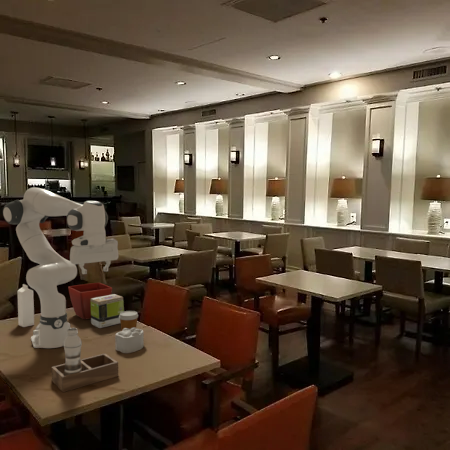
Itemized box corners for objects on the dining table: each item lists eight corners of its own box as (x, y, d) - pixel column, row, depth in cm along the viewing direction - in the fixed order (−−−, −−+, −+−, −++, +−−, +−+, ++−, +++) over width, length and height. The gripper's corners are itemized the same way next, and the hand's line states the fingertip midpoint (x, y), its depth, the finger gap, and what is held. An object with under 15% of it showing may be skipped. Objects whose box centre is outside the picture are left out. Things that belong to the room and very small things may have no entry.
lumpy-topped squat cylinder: (112, 348, 203) (112, 330, 203) (135, 341, 213) (134, 324, 213) (126, 354, 197) (126, 335, 196) (148, 346, 207) (148, 328, 206)
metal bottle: (66, 376, 172) (65, 326, 170) (84, 376, 172) (83, 326, 170) (61, 383, 165) (60, 332, 164) (79, 383, 166) (78, 332, 164)
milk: (23, 327, 232) (21, 286, 230) (18, 324, 236) (16, 284, 234) (34, 324, 236) (33, 284, 234) (29, 322, 240) (28, 282, 238)
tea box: (115, 318, 249) (115, 293, 247) (124, 323, 241) (124, 296, 240) (90, 324, 238) (90, 297, 237) (99, 328, 231) (98, 301, 230)
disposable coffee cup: (132, 341, 213) (132, 317, 212) (115, 338, 217) (115, 315, 215) (142, 334, 222) (141, 311, 221) (125, 332, 226) (125, 309, 224)
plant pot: (99, 308, 268) (98, 281, 266) (113, 316, 253) (112, 287, 252) (68, 314, 255) (67, 286, 254) (81, 322, 241) (80, 292, 239)
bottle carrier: (51, 381, 169) (51, 367, 169) (105, 366, 184) (104, 353, 183) (63, 392, 160) (62, 377, 160) (118, 375, 175) (118, 362, 174)
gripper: (114, 237, 192) (114, 268, 193) (67, 240, 179) (68, 274, 180) (121, 238, 187) (121, 270, 188) (73, 242, 174) (74, 276, 175)
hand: (95, 272), depth 184 cm, fingers open, 8 cm apart
